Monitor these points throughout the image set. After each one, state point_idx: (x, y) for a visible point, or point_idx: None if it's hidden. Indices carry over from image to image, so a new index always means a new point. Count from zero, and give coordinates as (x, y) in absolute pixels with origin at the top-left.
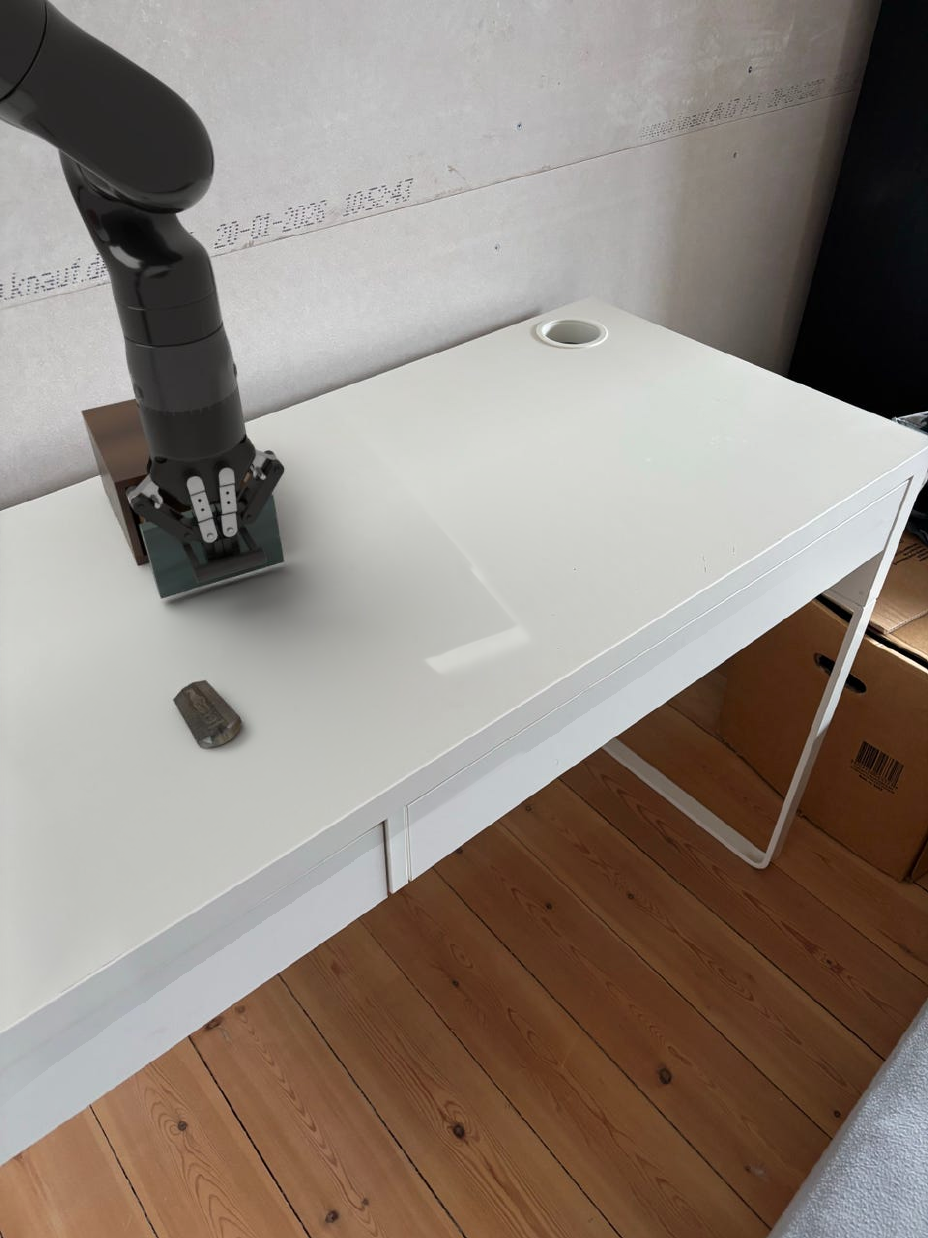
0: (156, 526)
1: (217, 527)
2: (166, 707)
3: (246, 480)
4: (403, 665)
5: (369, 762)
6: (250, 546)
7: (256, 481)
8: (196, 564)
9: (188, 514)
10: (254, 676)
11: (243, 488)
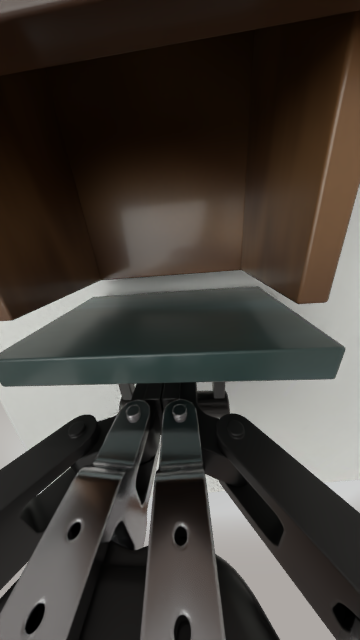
0: (31, 383)
1: (166, 405)
2: (107, 416)
3: (315, 256)
4: (278, 442)
5: (217, 481)
6: (215, 391)
7: (327, 602)
8: (126, 398)
9: (104, 370)
10: None
11: (267, 497)
